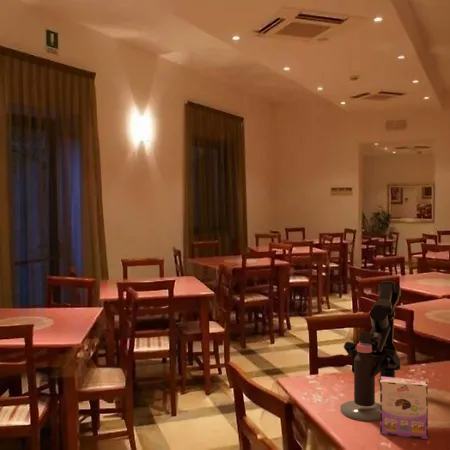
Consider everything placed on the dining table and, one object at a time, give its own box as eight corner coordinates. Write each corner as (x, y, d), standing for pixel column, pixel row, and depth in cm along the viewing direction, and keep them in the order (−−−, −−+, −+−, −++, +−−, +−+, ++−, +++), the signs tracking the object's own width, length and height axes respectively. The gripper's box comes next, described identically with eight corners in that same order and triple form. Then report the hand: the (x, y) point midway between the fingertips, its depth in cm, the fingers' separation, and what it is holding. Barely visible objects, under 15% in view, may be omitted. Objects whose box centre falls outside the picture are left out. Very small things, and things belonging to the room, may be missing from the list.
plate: (339, 402, 190) (339, 399, 190) (385, 404, 188) (385, 401, 188) (341, 419, 174) (341, 416, 174) (392, 422, 172) (392, 419, 172)
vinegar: (363, 408, 177) (363, 348, 176) (350, 401, 183) (349, 343, 182) (379, 404, 180) (379, 345, 179) (365, 398, 186) (365, 341, 185)
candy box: (427, 432, 164) (427, 379, 164) (428, 440, 159) (428, 385, 158) (380, 426, 169) (380, 375, 168) (379, 434, 163) (379, 380, 163)
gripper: (346, 318, 190) (329, 356, 182) (395, 326, 177) (379, 367, 169) (357, 336, 196) (341, 373, 188) (406, 345, 183) (391, 385, 175)
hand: (362, 374), depth 180 cm, fingers closed on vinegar, 7 cm apart
